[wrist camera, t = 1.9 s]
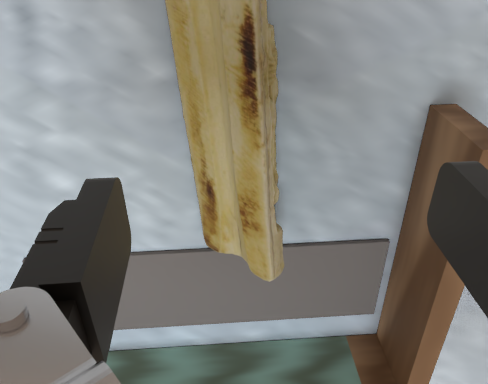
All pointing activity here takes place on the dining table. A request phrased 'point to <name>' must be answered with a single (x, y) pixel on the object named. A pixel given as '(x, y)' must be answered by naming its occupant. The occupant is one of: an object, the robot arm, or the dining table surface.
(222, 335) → the dining table surface
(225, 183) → the plank
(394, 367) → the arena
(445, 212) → the robot arm
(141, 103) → the dining table surface
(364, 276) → the mat
